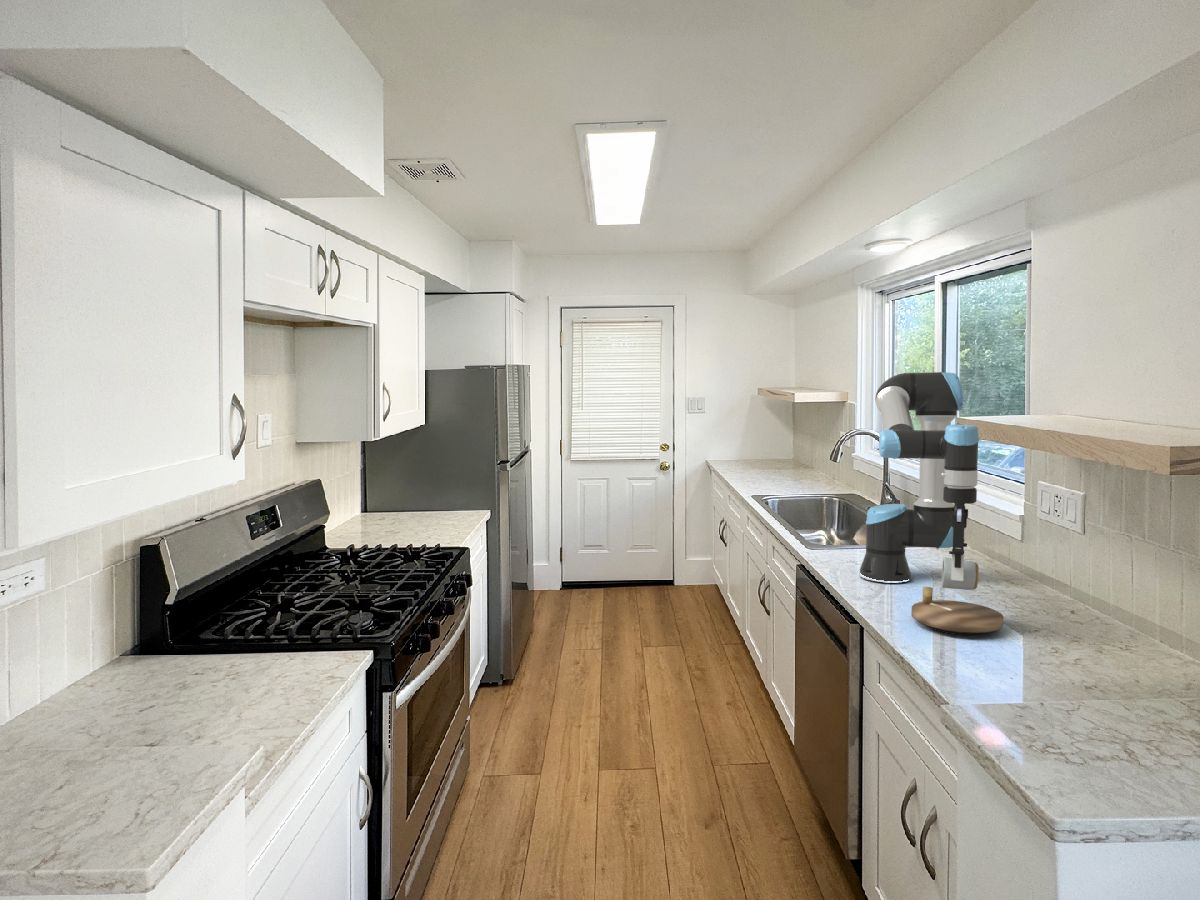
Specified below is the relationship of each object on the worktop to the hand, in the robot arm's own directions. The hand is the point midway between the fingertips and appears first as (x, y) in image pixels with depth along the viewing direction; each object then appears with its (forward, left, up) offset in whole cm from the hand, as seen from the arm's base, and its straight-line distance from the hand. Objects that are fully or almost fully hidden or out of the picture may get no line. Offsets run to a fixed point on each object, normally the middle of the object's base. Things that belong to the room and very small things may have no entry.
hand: (957, 575), depth 187 cm
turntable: (0, 0, -11) cm, 11 cm away
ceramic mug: (-1, 0, -3) cm, 4 cm away
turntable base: (0, 0, -13) cm, 13 cm away
